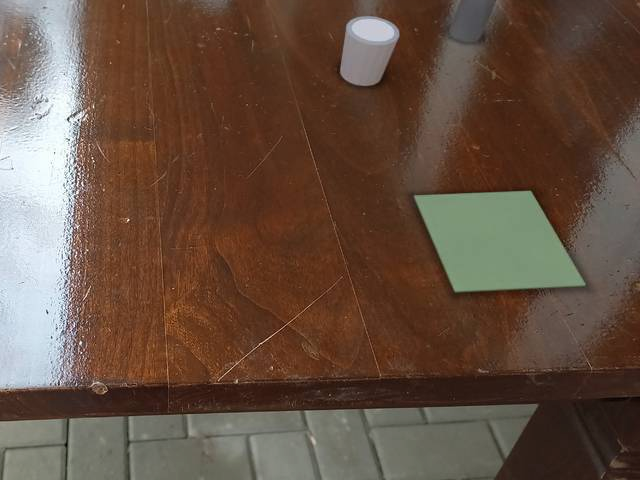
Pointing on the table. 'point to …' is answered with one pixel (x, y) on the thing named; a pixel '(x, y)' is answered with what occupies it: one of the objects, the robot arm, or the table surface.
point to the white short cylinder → (367, 49)
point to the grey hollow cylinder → (471, 19)
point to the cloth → (496, 242)
